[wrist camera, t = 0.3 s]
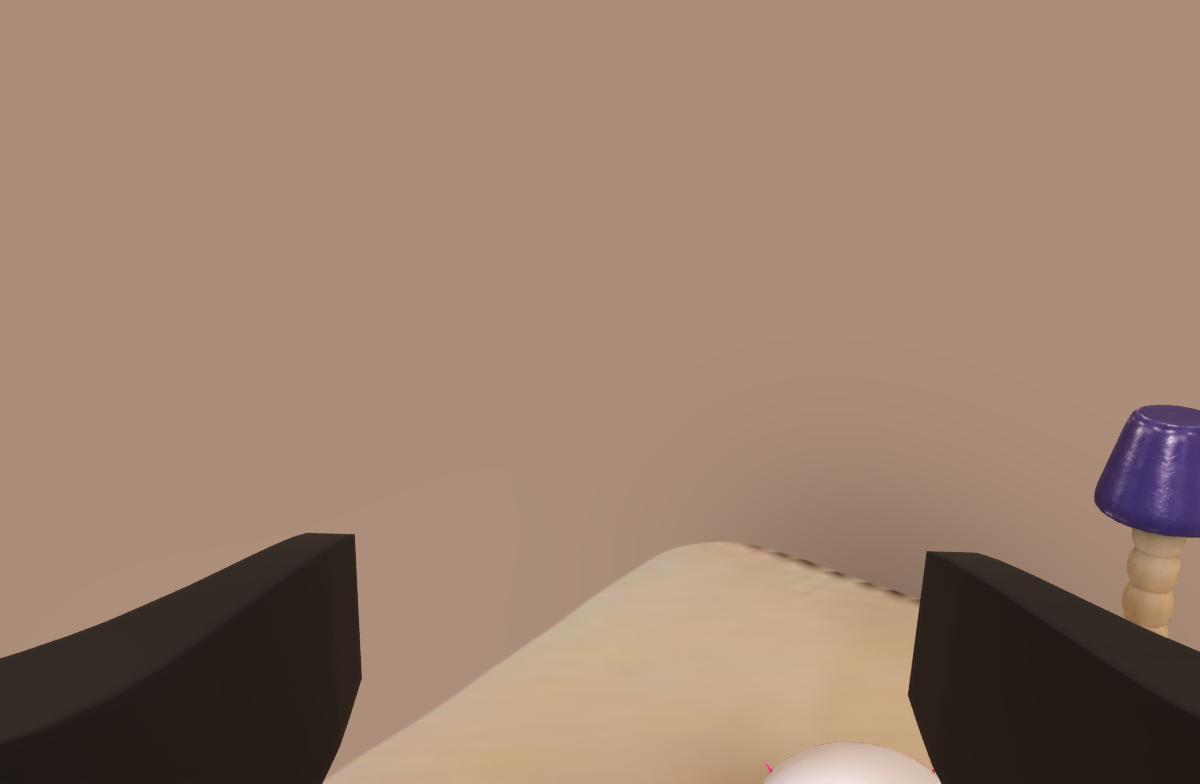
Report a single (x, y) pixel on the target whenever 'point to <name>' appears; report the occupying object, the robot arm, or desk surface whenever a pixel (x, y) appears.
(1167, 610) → the toy lamp
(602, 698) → the desk surface
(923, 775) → the stress ball
